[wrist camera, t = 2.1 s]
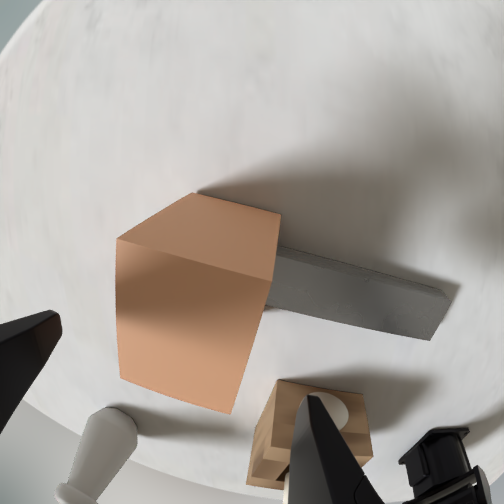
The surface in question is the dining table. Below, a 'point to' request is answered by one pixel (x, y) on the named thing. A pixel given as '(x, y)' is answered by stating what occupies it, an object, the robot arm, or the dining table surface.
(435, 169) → the dining table surface
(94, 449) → the salt shaker
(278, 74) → the dining table surface
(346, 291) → the rail
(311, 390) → the cabinet
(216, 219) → the block
